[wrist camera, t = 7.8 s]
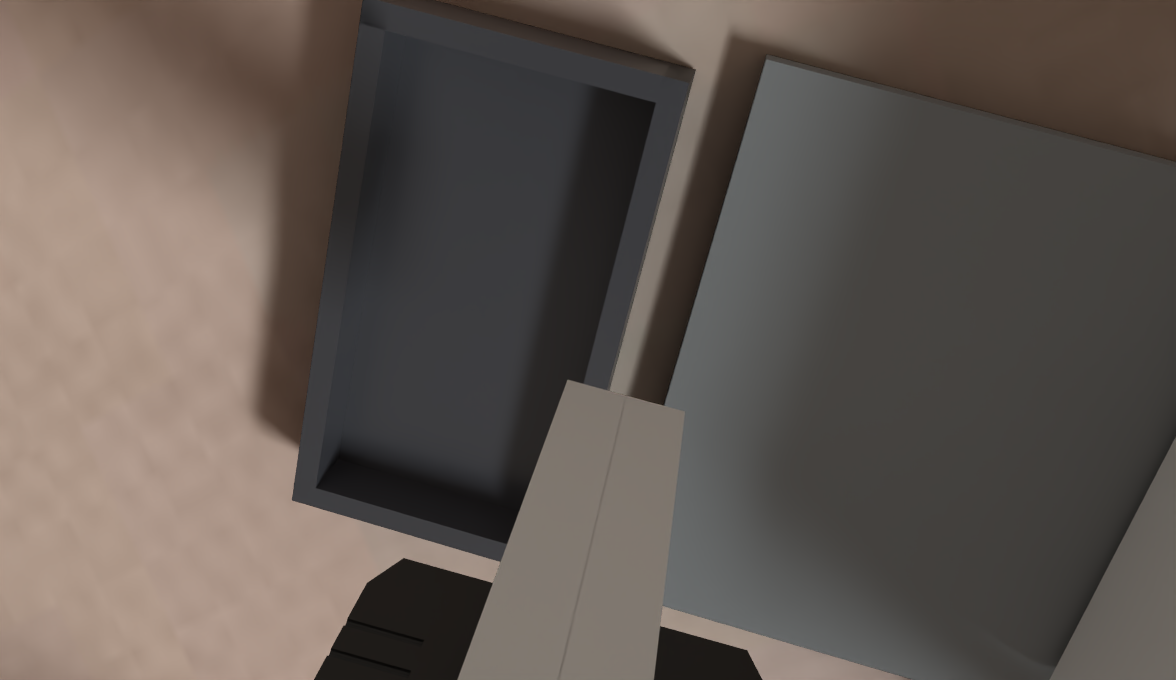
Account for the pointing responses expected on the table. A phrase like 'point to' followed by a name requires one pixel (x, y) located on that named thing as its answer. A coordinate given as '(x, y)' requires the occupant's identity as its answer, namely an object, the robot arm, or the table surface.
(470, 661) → the robot arm
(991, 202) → the track
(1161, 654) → the white u-shaped channel
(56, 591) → the table surface
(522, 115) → the pit tray
